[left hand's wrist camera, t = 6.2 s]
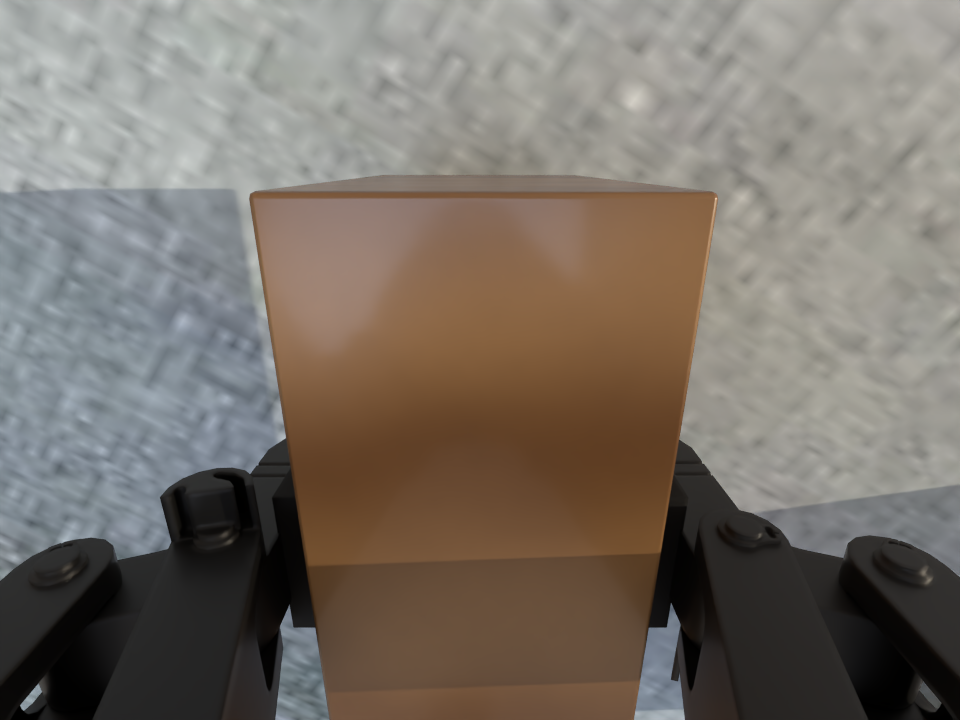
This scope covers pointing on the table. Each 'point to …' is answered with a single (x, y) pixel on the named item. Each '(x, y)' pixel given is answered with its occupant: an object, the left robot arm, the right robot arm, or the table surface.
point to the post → (482, 430)
